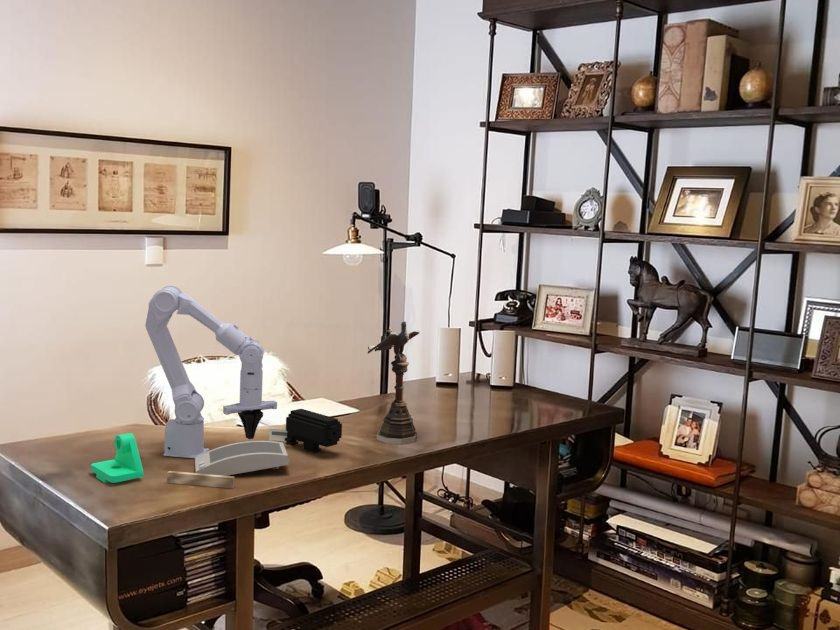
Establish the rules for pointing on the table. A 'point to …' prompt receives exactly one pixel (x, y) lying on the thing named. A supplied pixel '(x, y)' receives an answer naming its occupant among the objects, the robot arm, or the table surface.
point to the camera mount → (120, 462)
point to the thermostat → (242, 458)
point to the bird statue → (397, 392)
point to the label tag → (277, 434)
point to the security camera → (312, 430)
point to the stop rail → (200, 479)
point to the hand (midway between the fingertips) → (249, 438)
